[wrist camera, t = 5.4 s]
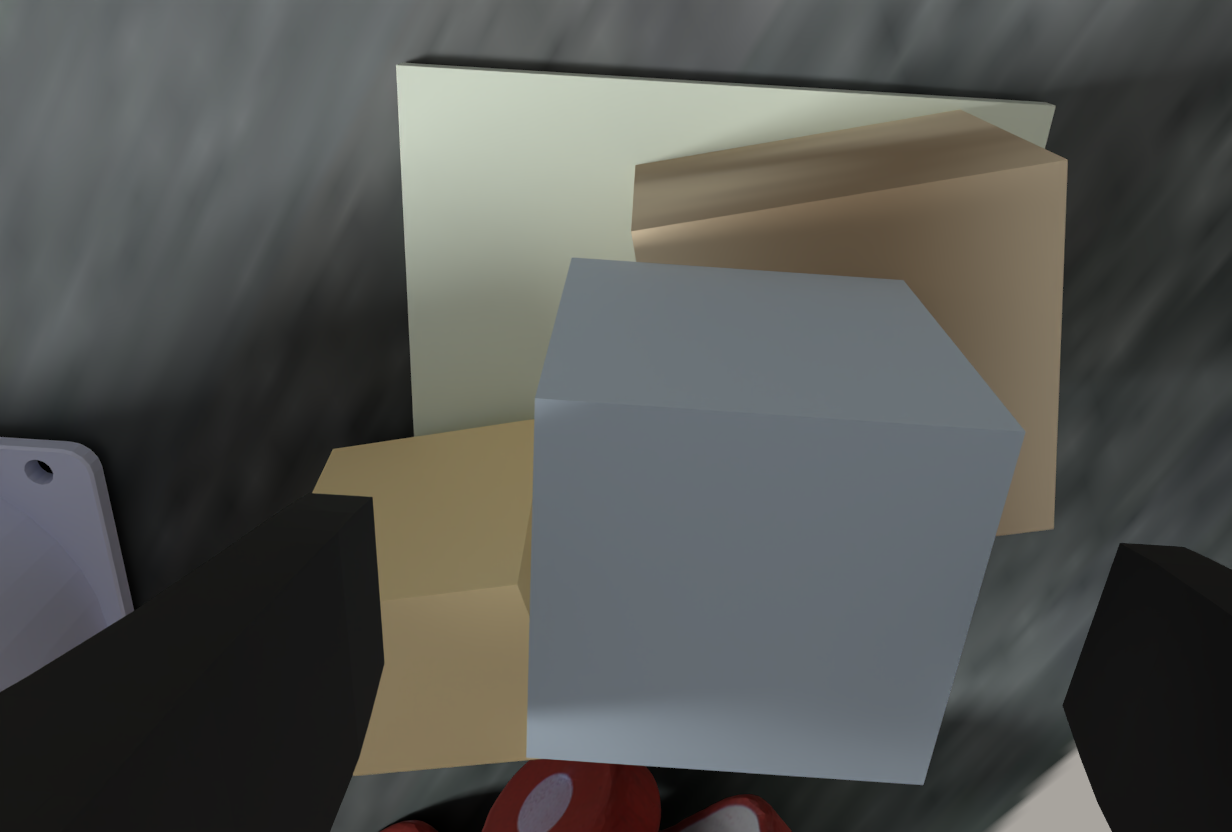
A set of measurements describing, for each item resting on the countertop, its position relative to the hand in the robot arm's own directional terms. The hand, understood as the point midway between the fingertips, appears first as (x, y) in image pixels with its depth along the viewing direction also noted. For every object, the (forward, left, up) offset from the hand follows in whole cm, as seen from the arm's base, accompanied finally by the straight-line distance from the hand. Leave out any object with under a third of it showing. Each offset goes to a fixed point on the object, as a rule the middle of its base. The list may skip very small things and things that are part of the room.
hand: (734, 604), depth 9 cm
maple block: (+2, +1, -7) cm, 8 cm away
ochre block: (-4, -4, -7) cm, 9 cm away
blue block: (0, 0, -3) cm, 3 cm away
